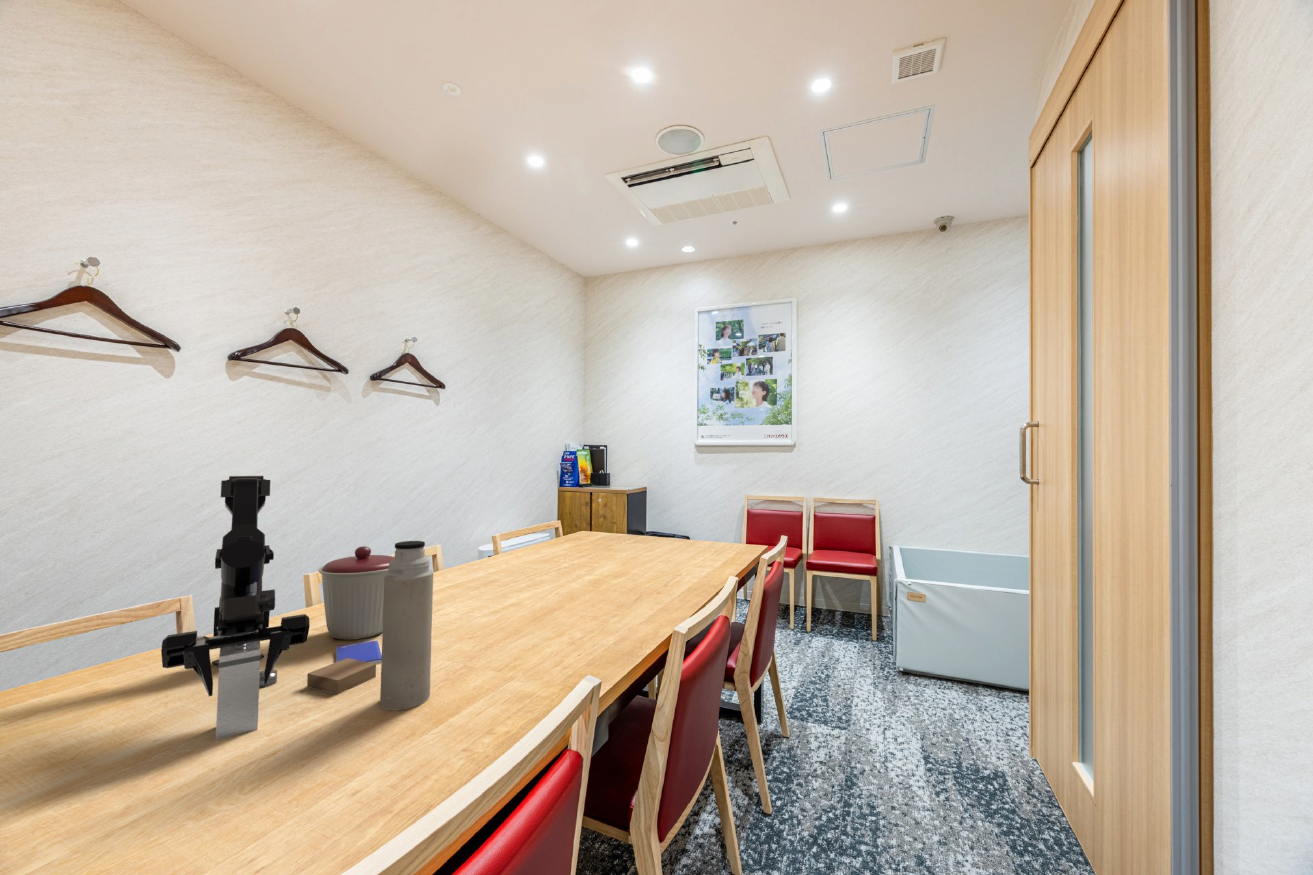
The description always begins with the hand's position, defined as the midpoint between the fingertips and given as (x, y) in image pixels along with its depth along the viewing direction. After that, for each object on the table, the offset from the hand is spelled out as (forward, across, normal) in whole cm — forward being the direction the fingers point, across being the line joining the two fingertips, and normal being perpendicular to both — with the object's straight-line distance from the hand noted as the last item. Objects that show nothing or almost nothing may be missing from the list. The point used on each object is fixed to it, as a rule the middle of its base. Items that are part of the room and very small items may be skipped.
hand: (238, 688), depth 80 cm
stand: (-3, +16, +12) cm, 20 cm away
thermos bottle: (+8, +23, +1) cm, 25 cm away
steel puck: (-8, +4, +18) cm, 20 cm away
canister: (-23, +23, +32) cm, 46 cm away
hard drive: (-11, +20, +21) cm, 31 cm away
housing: (+4, 0, +6) cm, 7 cm away
